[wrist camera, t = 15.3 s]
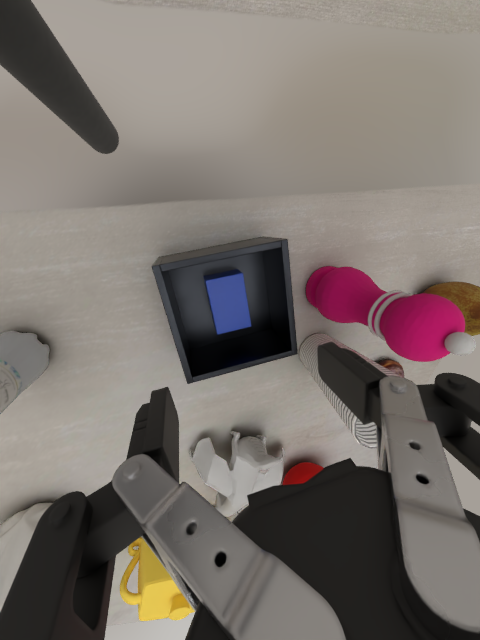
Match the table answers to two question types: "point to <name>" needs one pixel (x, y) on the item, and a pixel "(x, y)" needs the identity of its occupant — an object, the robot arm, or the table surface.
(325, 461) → the table surface
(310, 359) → the cup
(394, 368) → the pastry
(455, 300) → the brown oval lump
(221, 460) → the dragon figurine
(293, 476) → the tomato
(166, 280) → the black open box
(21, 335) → the bottle
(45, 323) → the table surface
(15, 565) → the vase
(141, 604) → the teapot
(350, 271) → the pepper mill
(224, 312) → the blue rectangular block
